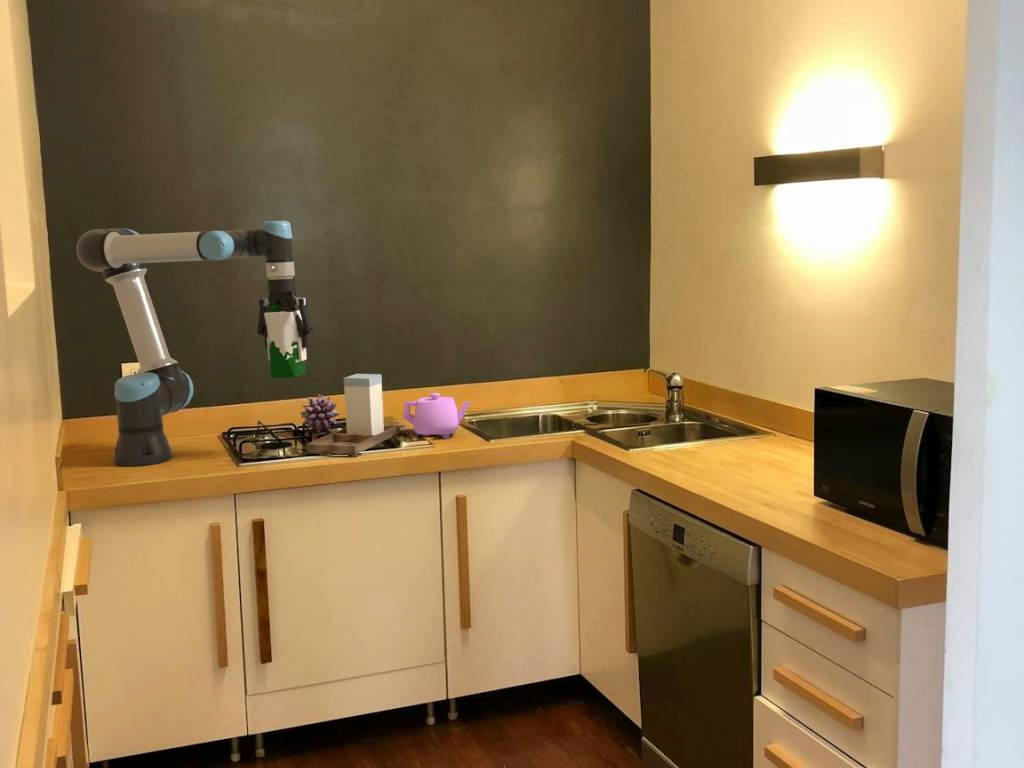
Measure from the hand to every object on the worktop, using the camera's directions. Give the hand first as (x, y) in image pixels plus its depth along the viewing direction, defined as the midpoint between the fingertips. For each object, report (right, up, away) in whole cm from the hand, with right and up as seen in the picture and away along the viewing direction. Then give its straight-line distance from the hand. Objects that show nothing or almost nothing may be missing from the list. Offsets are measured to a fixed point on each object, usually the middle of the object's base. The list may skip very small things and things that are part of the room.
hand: (287, 359), depth 292 cm
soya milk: (0, -5, +1) cm, 5 cm away
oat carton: (+19, -22, +18) cm, 34 cm away
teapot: (+40, -22, +20) cm, 50 cm away
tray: (+17, -24, +11) cm, 31 cm away
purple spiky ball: (+4, -22, +29) cm, 37 cm away
